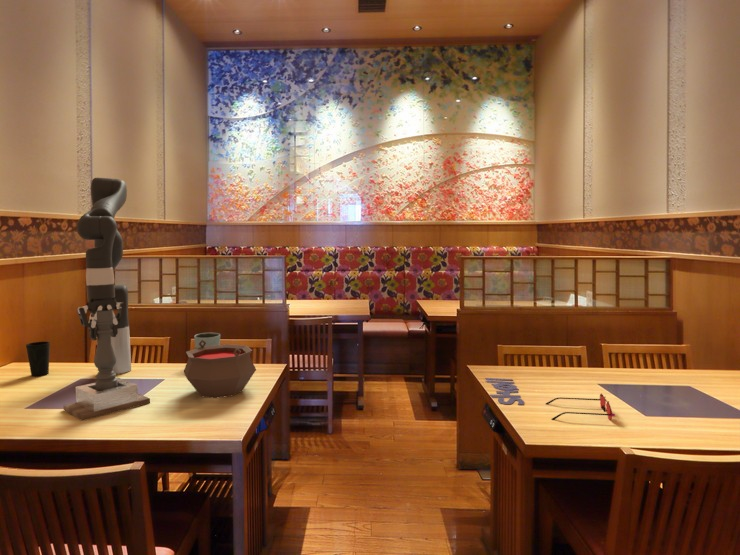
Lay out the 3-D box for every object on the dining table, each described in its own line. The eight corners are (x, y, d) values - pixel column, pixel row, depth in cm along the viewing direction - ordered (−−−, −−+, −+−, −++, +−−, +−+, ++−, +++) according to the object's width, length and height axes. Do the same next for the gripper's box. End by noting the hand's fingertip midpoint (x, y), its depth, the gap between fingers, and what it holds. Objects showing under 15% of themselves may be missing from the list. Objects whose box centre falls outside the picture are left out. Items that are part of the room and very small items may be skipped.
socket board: (63, 410, 162) (63, 405, 162) (129, 394, 177) (129, 390, 177) (82, 420, 153) (82, 415, 153) (150, 402, 168) (149, 398, 168)
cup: (55, 373, 205) (53, 342, 204) (34, 378, 199) (32, 346, 198) (45, 371, 209) (43, 340, 208) (24, 375, 203) (22, 344, 202)
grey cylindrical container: (213, 360, 223) (212, 331, 222) (226, 364, 216) (225, 334, 215) (190, 364, 216) (189, 335, 215) (202, 368, 209) (201, 338, 208)
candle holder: (122, 388, 168) (117, 308, 165) (110, 394, 161) (106, 311, 159) (103, 387, 168) (98, 308, 166) (91, 393, 162) (86, 311, 160)
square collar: (76, 402, 164) (75, 386, 164) (119, 392, 174) (118, 377, 174) (94, 411, 156) (93, 395, 155) (138, 400, 166) (137, 384, 165)
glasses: (615, 424, 145) (615, 406, 145) (551, 421, 149) (551, 403, 148) (603, 407, 159) (603, 391, 159) (545, 405, 162) (545, 388, 162)
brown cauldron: (169, 392, 179) (167, 344, 177) (231, 377, 196) (230, 333, 195) (207, 408, 163) (205, 355, 161) (271, 390, 180) (270, 342, 179)
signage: (526, 404, 161) (492, 403, 162) (526, 406, 161) (492, 405, 162) (513, 378, 189) (484, 377, 190) (513, 380, 189) (484, 379, 190)
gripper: (118, 280, 170) (121, 333, 171) (70, 284, 159) (73, 340, 160) (129, 281, 165) (132, 336, 166) (80, 285, 154) (83, 343, 156)
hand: (103, 338), depth 163 cm, fingers closed on candle holder, 5 cm apart
